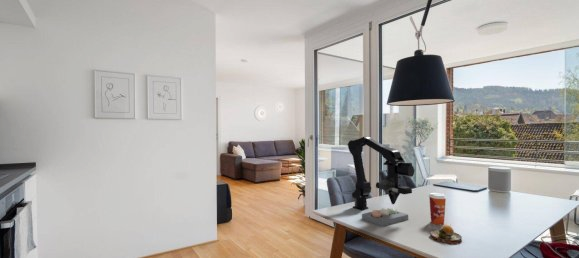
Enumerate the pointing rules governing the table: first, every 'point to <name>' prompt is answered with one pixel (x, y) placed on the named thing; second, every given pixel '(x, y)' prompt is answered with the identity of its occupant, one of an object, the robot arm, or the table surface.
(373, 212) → the pink button
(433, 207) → the paper cup
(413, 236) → the table surface
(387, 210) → the cream button
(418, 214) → the table surface
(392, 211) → the sage button
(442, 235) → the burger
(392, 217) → the grey flat board
